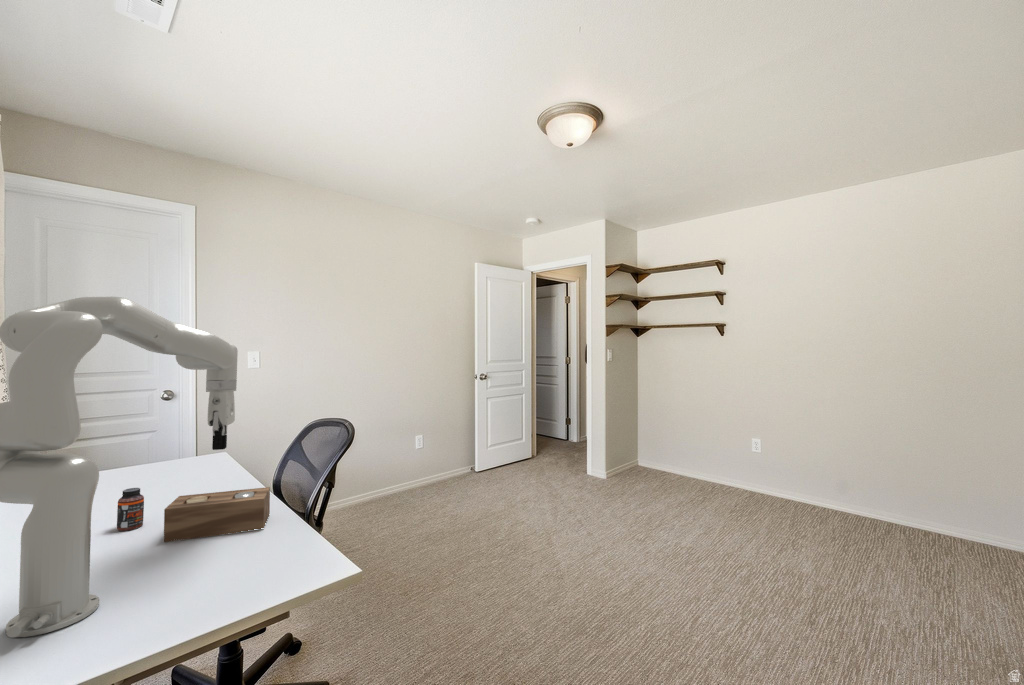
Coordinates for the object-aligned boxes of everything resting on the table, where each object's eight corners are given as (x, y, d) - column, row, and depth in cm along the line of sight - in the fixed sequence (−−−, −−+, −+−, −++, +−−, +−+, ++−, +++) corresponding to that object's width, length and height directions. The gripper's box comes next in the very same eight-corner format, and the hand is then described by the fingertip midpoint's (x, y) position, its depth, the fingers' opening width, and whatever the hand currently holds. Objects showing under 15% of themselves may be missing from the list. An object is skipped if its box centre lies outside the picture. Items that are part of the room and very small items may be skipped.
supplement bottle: (127, 532, 126) (128, 493, 126) (111, 531, 127) (112, 491, 127) (148, 524, 132) (149, 487, 132) (132, 523, 133) (133, 485, 133)
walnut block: (263, 529, 128) (263, 498, 128) (163, 542, 119) (164, 509, 120) (269, 515, 139) (269, 487, 140) (178, 526, 130) (179, 496, 131)
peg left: (204, 532, 126) (204, 500, 126) (183, 534, 124) (184, 502, 124) (209, 525, 130) (209, 495, 131) (188, 528, 128) (189, 497, 129)
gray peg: (252, 525, 130) (252, 495, 130) (232, 528, 128) (233, 497, 129) (255, 520, 135) (255, 490, 135) (236, 522, 133) (236, 492, 133)
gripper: (229, 387, 123) (227, 453, 122) (242, 384, 137) (240, 443, 136) (198, 388, 120) (195, 455, 119) (213, 385, 134) (211, 445, 133)
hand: (219, 448), depth 128 cm, fingers closed
